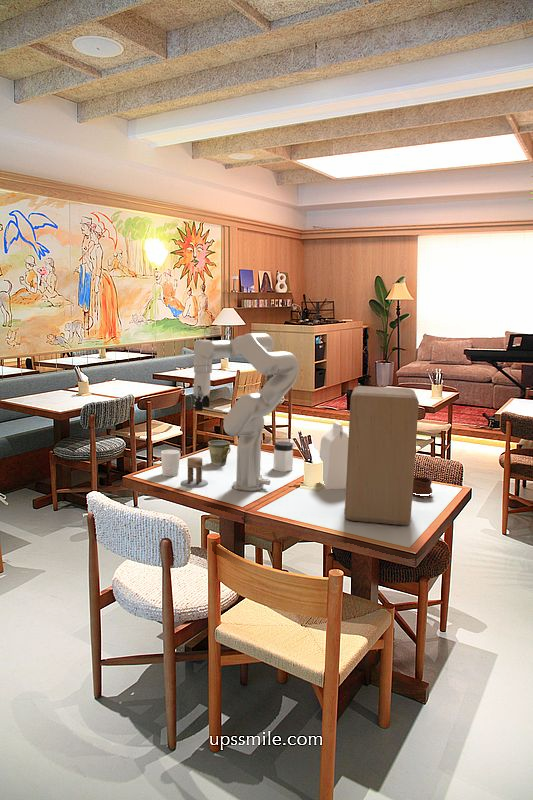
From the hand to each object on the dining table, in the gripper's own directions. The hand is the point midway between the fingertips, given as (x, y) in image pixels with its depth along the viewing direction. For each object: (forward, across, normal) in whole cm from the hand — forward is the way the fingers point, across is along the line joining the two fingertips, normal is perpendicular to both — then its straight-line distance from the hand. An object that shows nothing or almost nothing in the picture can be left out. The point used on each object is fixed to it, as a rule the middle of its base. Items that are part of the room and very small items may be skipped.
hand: (202, 408), depth 264 cm
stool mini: (+28, +16, +2) cm, 32 cm away
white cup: (+29, +6, -12) cm, 32 cm away
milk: (+28, 0, +58) cm, 65 cm away
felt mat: (+28, +16, +2) cm, 33 cm away
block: (+28, +33, +76) cm, 88 cm away
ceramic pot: (+29, +5, +93) cm, 97 cm away
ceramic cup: (+29, -17, +4) cm, 34 cm away
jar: (+28, -17, +33) cm, 47 cm away
